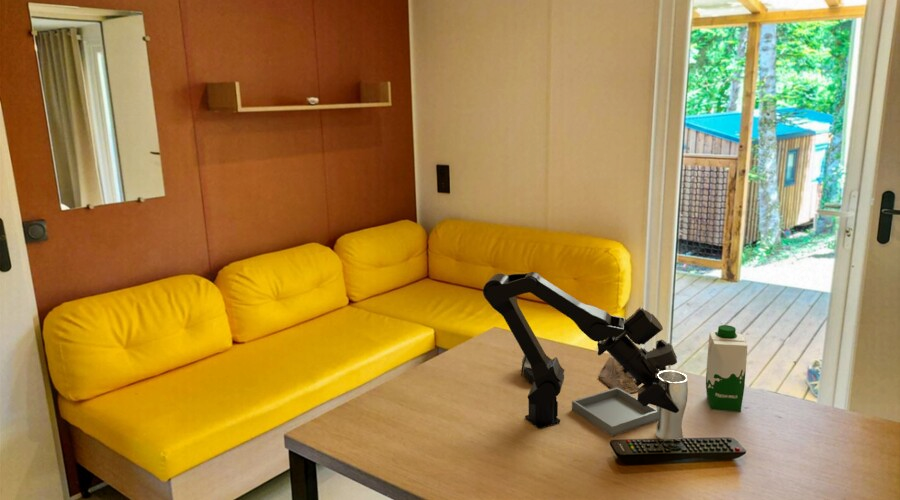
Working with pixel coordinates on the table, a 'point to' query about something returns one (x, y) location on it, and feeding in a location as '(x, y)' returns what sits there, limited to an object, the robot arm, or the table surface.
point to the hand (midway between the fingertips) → (677, 404)
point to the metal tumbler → (678, 392)
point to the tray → (614, 411)
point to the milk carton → (726, 369)
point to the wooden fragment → (617, 377)
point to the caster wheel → (527, 370)
